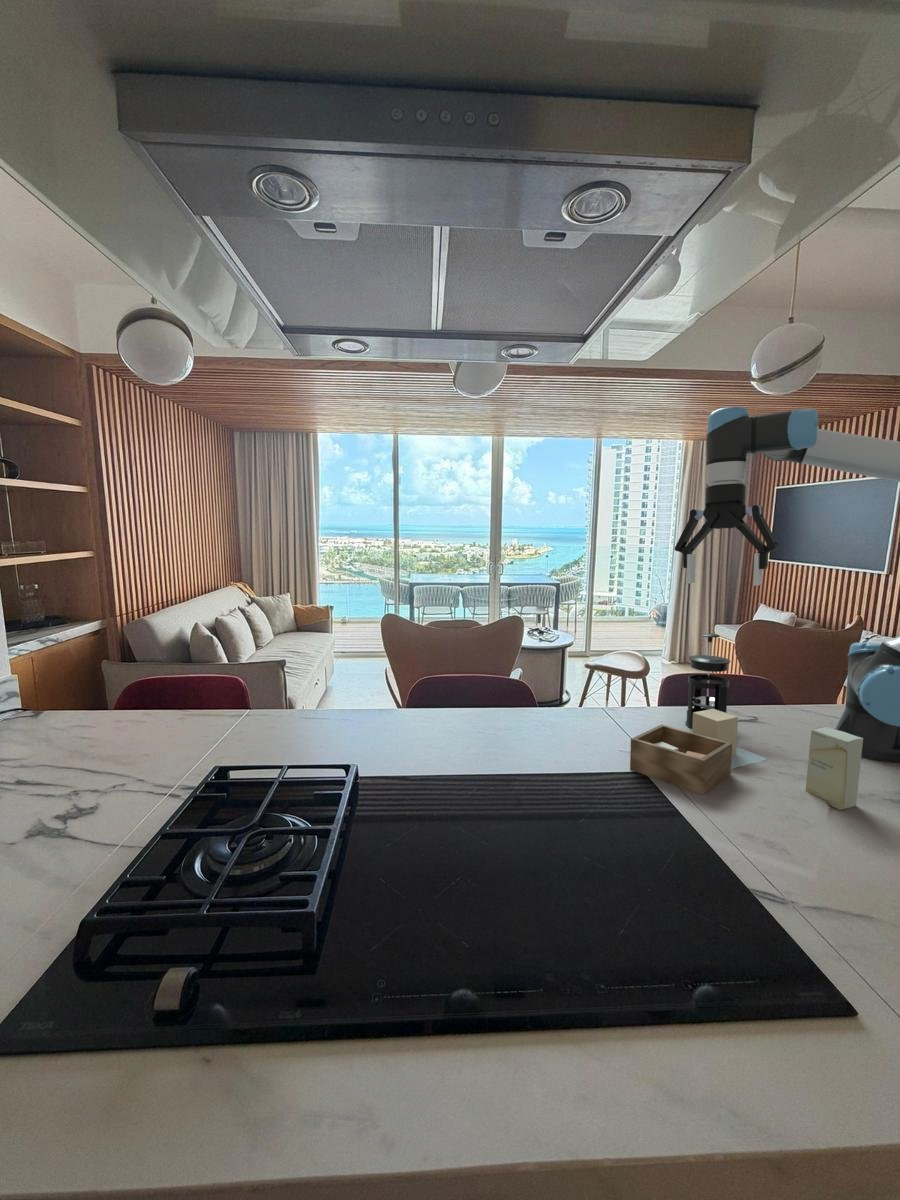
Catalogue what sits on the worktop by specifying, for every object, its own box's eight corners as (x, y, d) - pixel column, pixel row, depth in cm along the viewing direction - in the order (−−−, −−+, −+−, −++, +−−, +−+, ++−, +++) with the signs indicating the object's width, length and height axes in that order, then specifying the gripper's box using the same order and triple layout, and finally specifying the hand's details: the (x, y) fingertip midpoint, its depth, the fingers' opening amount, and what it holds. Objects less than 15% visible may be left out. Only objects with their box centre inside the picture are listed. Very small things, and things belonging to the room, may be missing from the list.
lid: (767, 764, 106) (770, 721, 105) (722, 776, 101) (724, 731, 100) (705, 739, 120) (707, 700, 119) (662, 749, 114) (664, 708, 113)
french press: (676, 720, 132) (679, 630, 130) (712, 718, 133) (715, 629, 130) (702, 736, 120) (706, 639, 118) (741, 735, 121) (746, 638, 119)
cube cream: (677, 768, 102) (678, 748, 102) (663, 772, 100) (663, 752, 100) (661, 760, 106) (662, 741, 105) (647, 764, 104) (647, 745, 104)
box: (730, 778, 99) (732, 743, 98) (702, 799, 91) (704, 760, 91) (660, 756, 110) (661, 724, 109) (629, 773, 102) (630, 738, 101)
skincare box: (804, 795, 92) (808, 729, 91) (821, 790, 94) (825, 725, 93) (842, 811, 87) (847, 741, 85) (859, 806, 88) (864, 737, 87)
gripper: (798, 479, 104) (794, 584, 106) (675, 491, 122) (673, 581, 124) (787, 476, 99) (783, 587, 101) (660, 489, 117) (658, 583, 119)
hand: (722, 584), depth 113 cm, fingers open, 13 cm apart
